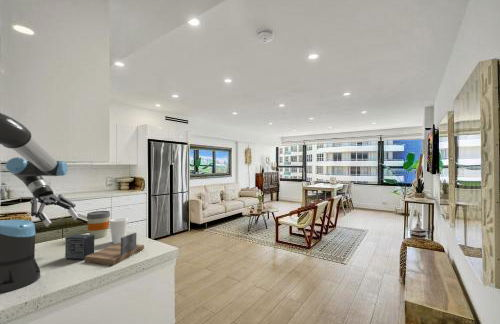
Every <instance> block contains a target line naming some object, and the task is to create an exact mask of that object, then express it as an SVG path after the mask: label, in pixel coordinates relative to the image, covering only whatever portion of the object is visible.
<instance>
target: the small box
mask: <svg viewBox="0 0 500 324" xmlns="http://www.w3.org/2000/svg"><path fill="white" fill-rule="evenodd" d="M94 236H95V235H90V234H82V233H81V234H80V233H78V234H77V233H76V234H73V235H70V236H66V237H65V248H64V249H65V253H64V255H65V256H64V259H65V260H67V261H68V260H74V261H76V260H77V261H85V256H88V255H90V254H93V253H95V239H94Z"/></svg>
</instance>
